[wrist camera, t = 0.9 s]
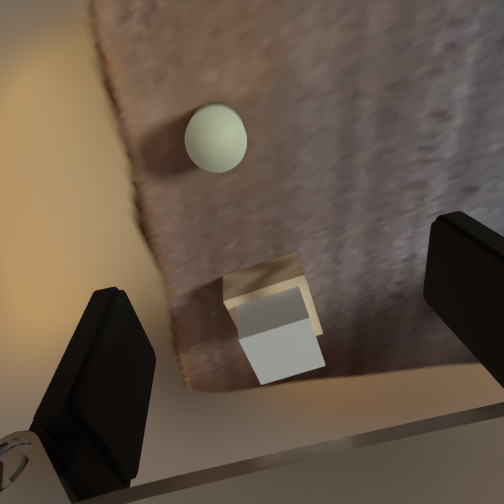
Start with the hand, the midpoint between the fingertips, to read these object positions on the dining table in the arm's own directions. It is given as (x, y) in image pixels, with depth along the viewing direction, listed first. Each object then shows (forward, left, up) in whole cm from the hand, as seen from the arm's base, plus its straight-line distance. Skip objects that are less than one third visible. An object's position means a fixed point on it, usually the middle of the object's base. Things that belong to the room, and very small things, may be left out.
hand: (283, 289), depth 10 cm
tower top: (+3, +19, -20) cm, 28 cm away
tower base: (+3, +19, -25) cm, 31 cm away
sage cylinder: (+2, -1, -25) cm, 25 cm away
